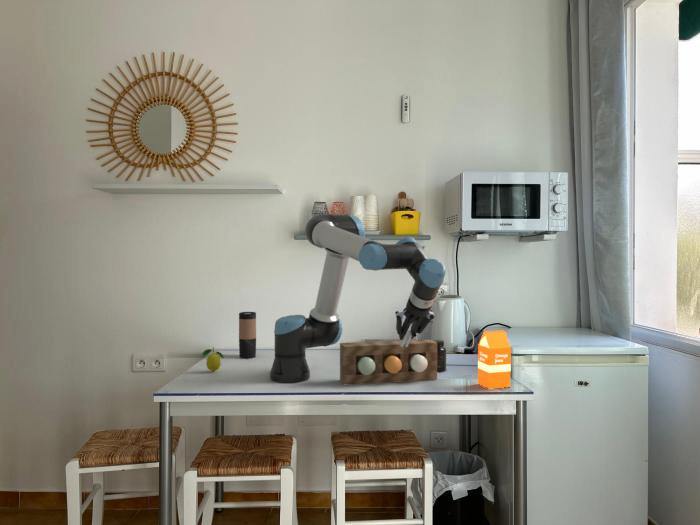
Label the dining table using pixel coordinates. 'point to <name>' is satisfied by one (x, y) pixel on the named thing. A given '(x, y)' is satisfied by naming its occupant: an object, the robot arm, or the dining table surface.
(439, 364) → the supplement bottle
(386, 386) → the dining table surface
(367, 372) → the button sage
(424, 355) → the control box
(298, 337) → the robot arm
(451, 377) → the dining table surface
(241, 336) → the travel mug
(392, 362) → the button orange
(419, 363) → the button ivory
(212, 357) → the lemon
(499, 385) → the orange juice
